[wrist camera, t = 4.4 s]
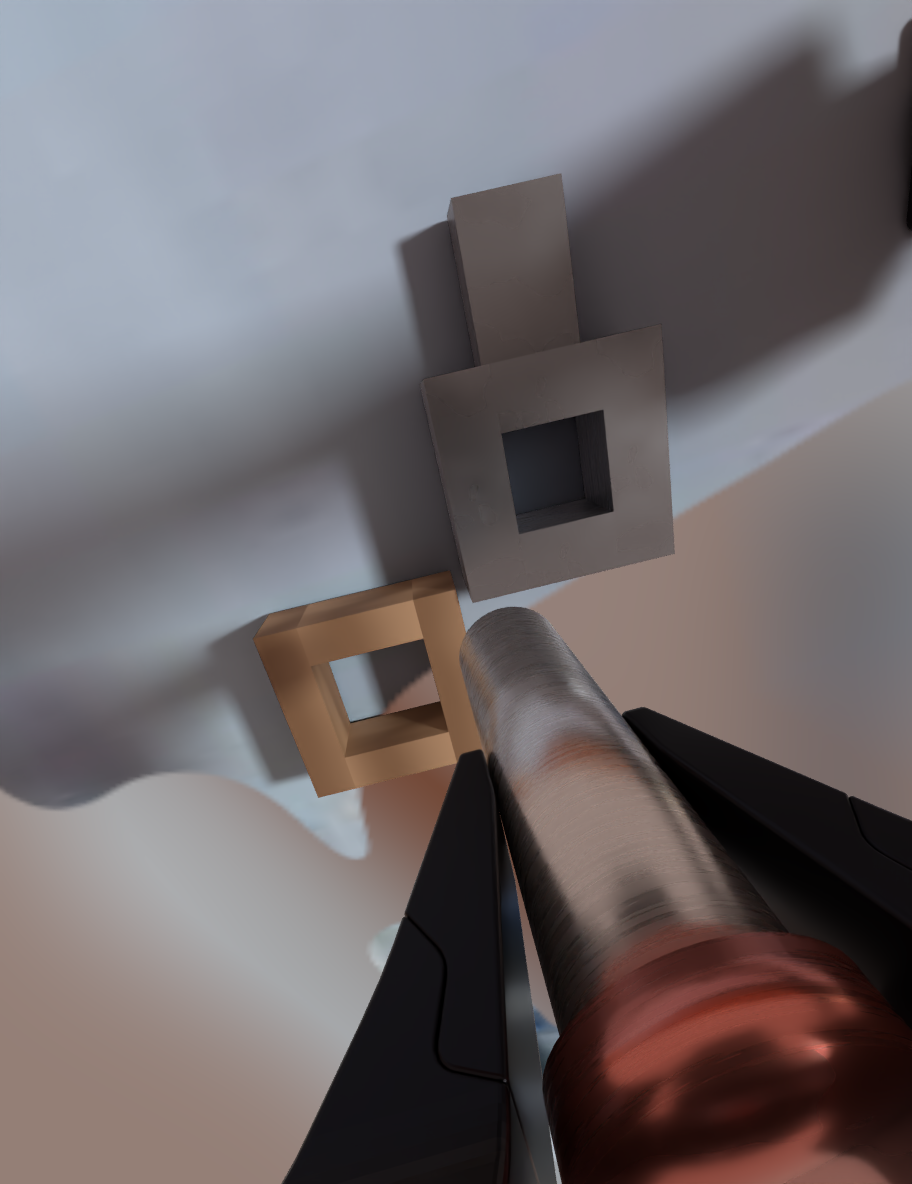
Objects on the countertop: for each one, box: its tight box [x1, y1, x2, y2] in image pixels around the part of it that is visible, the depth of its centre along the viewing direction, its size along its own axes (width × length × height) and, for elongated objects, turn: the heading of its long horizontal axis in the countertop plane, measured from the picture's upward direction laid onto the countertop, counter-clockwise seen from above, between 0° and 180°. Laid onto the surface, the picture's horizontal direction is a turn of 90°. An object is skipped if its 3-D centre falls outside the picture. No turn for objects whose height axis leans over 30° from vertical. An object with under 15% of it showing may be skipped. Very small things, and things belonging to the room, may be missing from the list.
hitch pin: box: [459, 607, 912, 1184], centre depth 8 cm, size 3×3×9 cm
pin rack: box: [253, 570, 483, 798], centre depth 21 cm, size 8×8×2 cm
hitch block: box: [420, 174, 675, 603], centre depth 18 cm, size 8×13×3 cm, turn 13°
